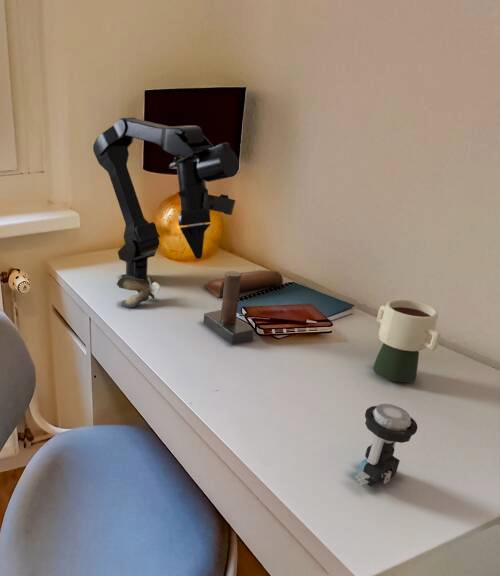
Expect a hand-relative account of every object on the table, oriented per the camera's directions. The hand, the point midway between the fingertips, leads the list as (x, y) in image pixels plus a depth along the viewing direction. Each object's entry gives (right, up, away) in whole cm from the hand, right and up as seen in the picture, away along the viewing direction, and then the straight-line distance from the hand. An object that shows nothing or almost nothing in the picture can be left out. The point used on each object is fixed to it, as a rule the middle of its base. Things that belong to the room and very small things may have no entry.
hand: (199, 257), depth 101 cm
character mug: (+28, -22, -22) cm, 42 cm away
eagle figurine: (-12, -10, +9) cm, 19 cm away
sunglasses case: (+15, -7, +15) cm, 22 cm away
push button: (+11, -31, -42) cm, 54 cm away
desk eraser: (+4, -16, -6) cm, 17 cm away
